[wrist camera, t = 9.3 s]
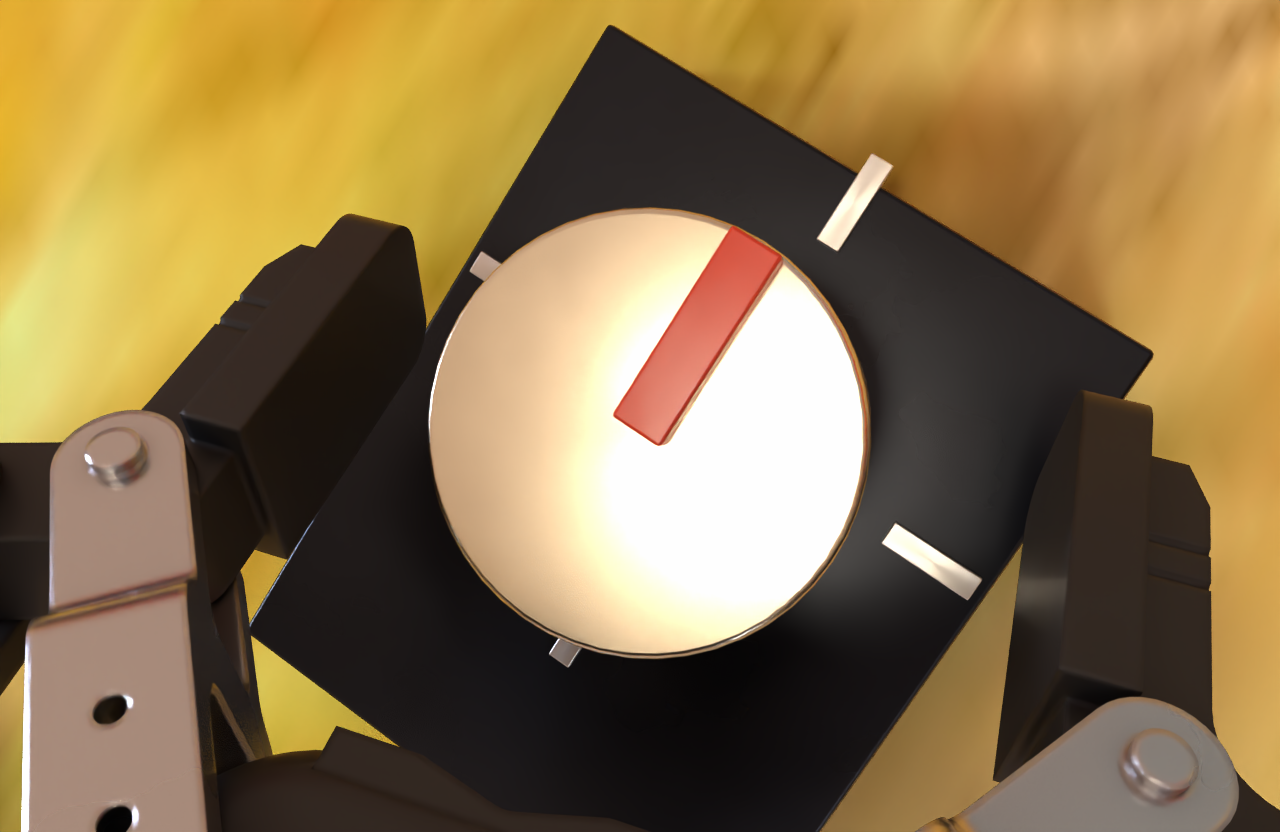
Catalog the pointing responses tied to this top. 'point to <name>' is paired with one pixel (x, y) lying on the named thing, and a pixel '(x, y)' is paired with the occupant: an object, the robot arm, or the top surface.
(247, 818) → the robot arm
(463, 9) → the top surface
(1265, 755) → the top surface
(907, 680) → the black flat block
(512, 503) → the dial
